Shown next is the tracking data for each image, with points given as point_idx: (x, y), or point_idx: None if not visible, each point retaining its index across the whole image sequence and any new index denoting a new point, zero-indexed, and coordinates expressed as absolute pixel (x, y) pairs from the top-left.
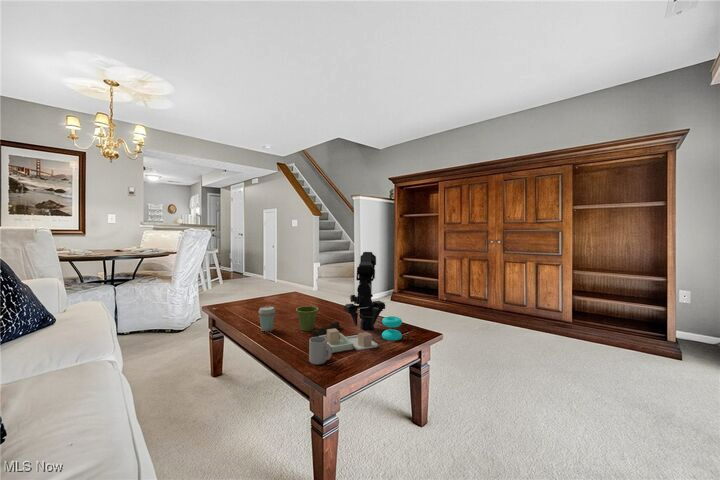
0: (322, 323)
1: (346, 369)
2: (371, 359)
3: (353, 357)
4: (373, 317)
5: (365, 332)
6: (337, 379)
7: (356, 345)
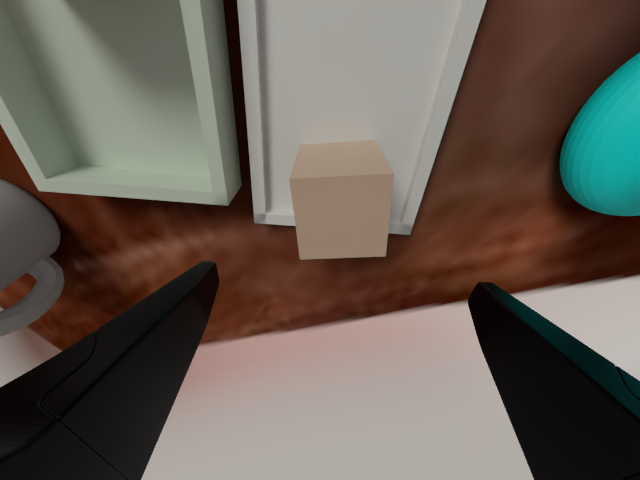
0: None
1: None
2: (284, 305)
3: None
4: (535, 369)
5: (373, 189)
6: None
7: (286, 144)
